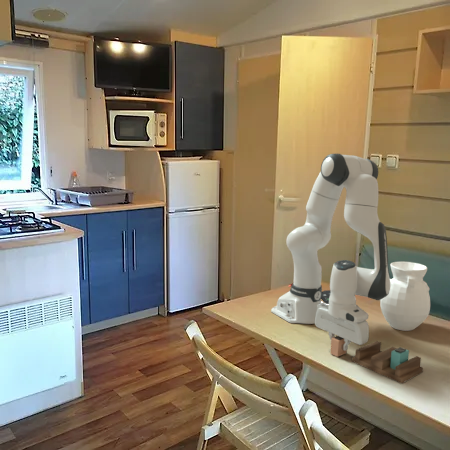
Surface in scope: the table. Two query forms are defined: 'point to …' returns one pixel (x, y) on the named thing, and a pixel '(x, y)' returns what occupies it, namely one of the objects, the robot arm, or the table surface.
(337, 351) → the orange rectangular block
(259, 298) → the table surface
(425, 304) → the pitcher
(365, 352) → the brown slotted tray
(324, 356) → the table surface
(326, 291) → the disk drive
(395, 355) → the teal box with panel
